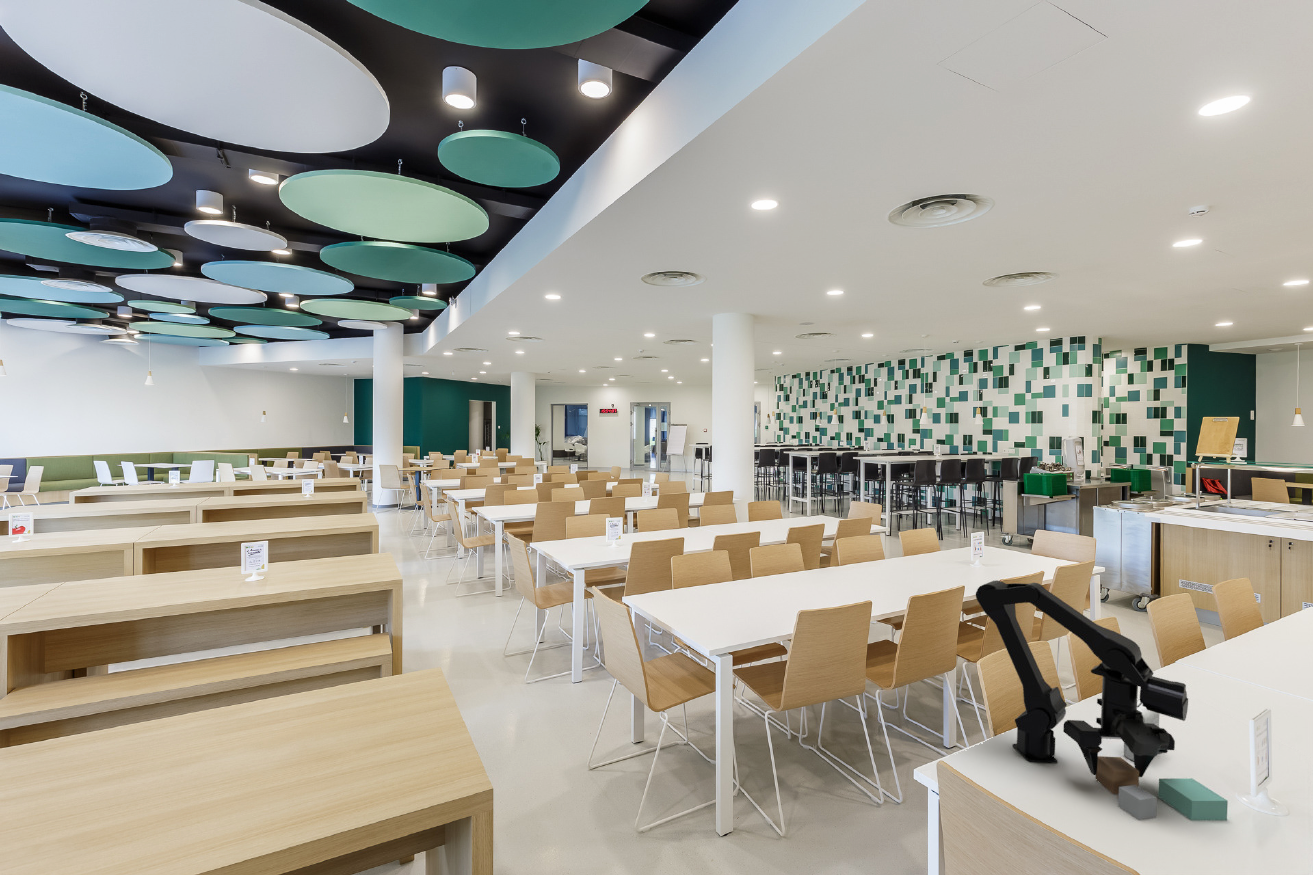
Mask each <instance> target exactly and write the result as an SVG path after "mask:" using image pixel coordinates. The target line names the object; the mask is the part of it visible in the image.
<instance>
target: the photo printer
mask: <svg viewBox="0 0 1313 875" xmlns="http://www.w3.org/2000/svg"><path fill="white" fill-rule="evenodd" d="M1137 710H1138V711H1140V712H1142V716H1143V722H1144V723H1153V724H1155V725H1157V726H1158V727H1160V714H1159V713H1156V712H1153V711H1150V710H1147V709H1146V707H1144V706H1143V703H1141V702H1140V698H1139V699H1137ZM1123 755H1124V756H1125V757H1126V758H1127V759H1129V760H1130V761H1132V762H1134V754H1133V753H1132V752H1131V751H1130V750H1129V748H1128V746H1127V745H1126V744H1125V743H1124V742H1123Z"/></svg>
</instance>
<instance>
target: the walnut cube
mask: <svg viewBox="0 0 1313 875" xmlns="http://www.w3.org/2000/svg"><path fill="white" fill-rule="evenodd" d="M1094 779H1095V780H1096V779H1097V780H1096V781H1097V782H1098V781H1099V782H1100V783H1099V782H1098V783H1099V784H1100V785H1102V787H1104V788H1105V789H1106V788H1107V789H1106V790H1107V791H1108V792H1110V793H1111V794H1112V795H1119V787H1123V786H1130V785H1136V786H1138V787H1140V786H1139V784H1140V777H1139V771H1138V770H1137V769H1136V768H1135V766H1133V765H1132V764H1130V763H1129V762H1128V761H1126V760H1125V759H1124V758H1122V757H1121V756H1103V755H1102V756H1100V755H1098V763H1097V773H1096V775H1094Z"/></svg>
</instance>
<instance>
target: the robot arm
mask: <svg viewBox="0 0 1313 875" xmlns="http://www.w3.org/2000/svg"><path fill="white" fill-rule="evenodd" d="M975 598H976V601H977V603H978V604H979V605H980V608H981V609H982V610H983V612H984V613H985V615H986V616H987V617H989V619H990V620H991V621H992V622H993V623H994V624H995V626H996V628H997V631H998V632H999V635H1000V637H1001V640H1002V642H1003V644H1004V646H1005V649H1006V650H1007V654H1008V656H1009V658H1010V660H1011V663H1012V665H1013V667H1014V669H1015V671H1016V674H1017V676H1018V678H1019V681H1020V683H1021V685H1022V686H1021V687H1022V690H1023V692H1022V694H1023V695H1022V696H1023V704H1024V707H1025V710H1024V711H1023V712H1022V713H1021V714H1019V715H1018V716H1017V717H1016V718H1015V719H1014V723H1015V725H1016V728H1017V729H1016V730H1017V731H1016V743H1012V747H1013V749H1015V750H1016V751H1017V752H1018V753H1019V754H1020V755H1021V756H1022V757H1023V758H1024V759H1025V760H1026V761H1028V762H1030V763H1031V762H1035V763H1036V762H1037V763H1056V764H1057V763H1058V759H1057V758H1056V757H1055V755H1056V737H1055V736H1054V735H1055V734H1054V733H1055V731H1054V730H1053V729H1054V728H1055V727H1056V726H1058V724H1059V723H1061V721H1062V720H1064V718H1065V716H1066V714H1067V710H1066V707H1067V706H1068V704H1067V703H1066V702H1065V700H1064V699H1063V697H1062V694H1061V691H1060V688H1059V686H1055V687H1051V686H1050V685H1049V684H1048V683H1047V682H1046V681H1045V679H1044V677H1043V675H1042V672H1041V670H1040V668H1039V666H1038V664H1037V662H1036V659H1035V656H1034V655H1033V653H1032V650H1031V648H1030V646H1029V643H1028V641H1027V638H1026V637H1025V635H1024V632H1023V630H1022V628H1021V626H1020V624H1019V622H1018V619H1017V614H1016V604H1024V603H1025V604H1027V603H1029V604H1031V605H1033V606H1034V607H1036V608H1037V609H1038V610H1040V611H1041V612H1043V614H1045V615H1046V616H1048V617H1049V618H1051V619H1052V620H1053V621H1055V622H1056V623H1058V624H1059V625H1060V626H1062V627H1064V628H1065V629H1067V630H1068V631H1069V632H1070V633H1072V634H1073V635H1075V636H1076V637H1077V638H1079V639H1080V640H1081V641H1083V642H1084V643H1085V644H1086V646H1087V647H1088V648H1089V650H1090V651H1091V653H1093V655H1095V657H1096V658H1098V660H1100V661H1101V662H1100V663H1099V664H1098V665H1095V666H1094V667H1093V668H1092V669H1090V673H1091V674H1092V675H1097V676H1099V677H1100V676H1101V677H1102V685H1101V689H1102V690H1101V698H1097V699H1096V704H1098V706H1101V708H1100V709H1101V710H1100V711H1101V714H1100V717H1096V718H1095V720H1096V721H1095V722H1096V724H1098V725H1100V727H1093V726H1092V725H1090V724H1089V722H1086V721H1085V720H1081V719H1080V720H1079V719H1078V720H1077V719H1076V720H1075V719H1074V720H1073V719H1067V720H1065V721H1064V723H1063V733H1065V734H1066V735H1067V736H1068V737H1070V738H1071V740H1073V741H1075V742H1076V744H1077V745H1078V747H1079V748H1080V751H1081V752H1082V755H1083V757H1084V760H1085V761H1086V764H1087V767H1088V768H1089V771H1090V773H1091V774H1092V775H1093V776H1095V775H1096V773H1097V763H1098V756H1099V753H1100V752H1101V751H1102V750H1103V748H1102V747H1101V746H1100V745H1102V742H1103V741H1102V740H1103V739H1107V740H1108V739H1109V740H1122V742H1123V744H1124V743H1125V744H1126V745H1127V746H1128V748H1129V750H1130V751H1131V752H1132V753H1133V754H1134V761H1133V764H1134V768H1136V769H1137V770H1138V771H1139V778H1142V777H1143V776H1144V774H1145V773H1146V771H1147V769H1148V767H1149V766H1150V764H1151V762H1152V761H1153V759H1154V758H1155V757H1157V756H1158V755H1162V754H1168V752H1169V751H1175V745H1176V744H1175V742H1176V741H1175V739H1174V737H1173V735H1172V734H1171V733H1170V732H1168V731H1167V730H1166V729H1165V728H1163V727H1160V726H1159V727H1158V726H1157V725H1155V724H1153V723H1144V722H1143V716H1142V712H1140V711H1138V710H1137V700H1138V692H1139V699H1140V702H1141V703H1143V706H1144V707H1146V709H1147V710H1150V711H1153V712H1156V713H1159V715H1163V716H1167V717H1169V718H1174V719H1176V720H1180V721H1183V722H1185V721H1186V719H1187V715H1188V710H1189V708H1188V707H1189V706H1188V705H1189V698H1188V694H1187V691H1186V689H1187V687H1186V686H1187V685H1186V684H1185V683H1182V682H1180V681H1174V680H1168V679H1163V678H1161V677H1158V676H1157V677H1156V676H1154V672H1153V670H1152V669H1151V668H1150V666H1149V665H1148V663H1147V662H1146V661H1145V659H1144V658H1143V657H1142V651H1141V647H1140V645H1138V643H1136V642H1135V641H1134V640H1132V639H1131V638H1128V637H1127V636H1124V635H1123V634H1121V633H1118V632H1116V631H1114V630H1111V629H1109V628H1106V627H1103V626H1101V625H1099V624H1097V623H1096V622H1094V621H1093V620H1091V619H1090V618H1088V617H1087V616H1085V615H1084V614H1083V613H1081V612H1079V611H1078V610H1077V609H1075V608H1074V607H1072V606H1070V605H1069V604H1068V603H1067V602H1065V601H1064V600H1062V599H1061V598H1059V597H1057V596H1056V595H1055V594H1053V593H1052V592H1050V591H1049V590H1048V589H1046V588H1045V587H1044V586H1043V585H1042V584H1040V583H1039V582H1031V583H1030V582H1029V583H1015V582H1013V583H1012V582H1011V583H1005V582H1004V581H1002V580H992V581H990V582H989V581H988V582H987V583H984V584H981V585H980V586H979V587H978V588H977V589H976V592H975ZM1139 687H1140V688H1139ZM1139 689H1140V690H1139Z"/></svg>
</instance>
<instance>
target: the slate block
mask: <svg viewBox="0 0 1313 875" xmlns="http://www.w3.org/2000/svg"><path fill="white" fill-rule="evenodd" d="M1117 805H1118V806H1117V807H1118V808H1119V807H1120V809H1121V810H1122V809H1123V810H1122V811H1124V812H1125V813H1127V814H1129V815H1131V816H1132V817H1133V818H1135V819H1137V820H1138V821H1145V820H1149V819H1156V817H1157V796H1156V795H1153V794H1152V793H1150V792H1148V791H1147V790H1144V789H1143V788H1142V787H1140V786H1139V787H1138V786H1136V785H1130V786H1123V787H1119V794H1118V804H1117Z"/></svg>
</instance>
